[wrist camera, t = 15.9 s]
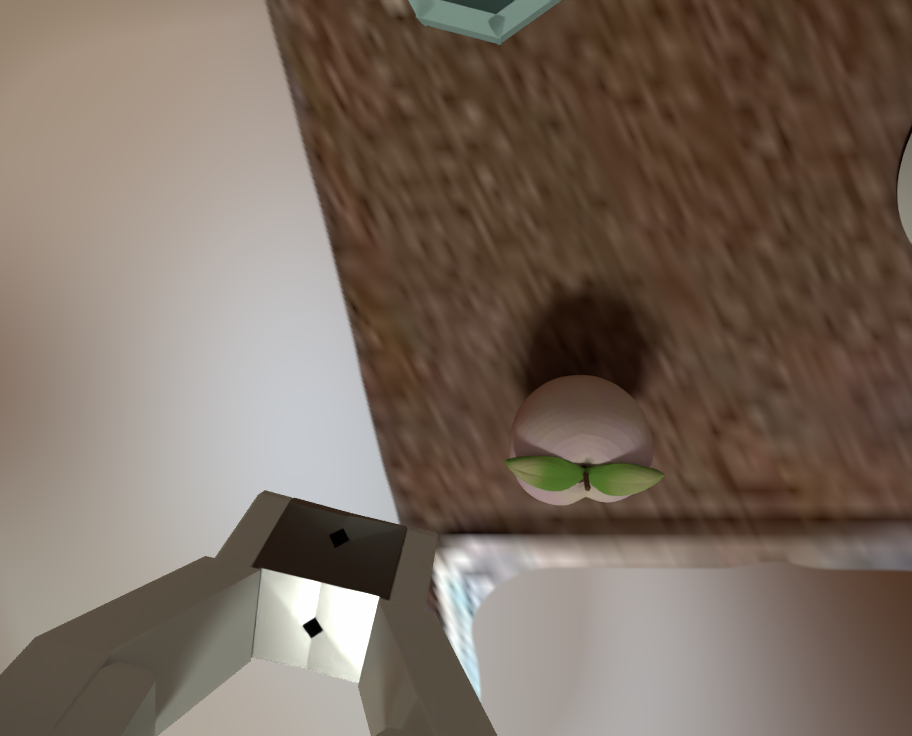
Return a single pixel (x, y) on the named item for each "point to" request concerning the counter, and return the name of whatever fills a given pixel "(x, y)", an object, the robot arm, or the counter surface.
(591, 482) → the decorative fruit
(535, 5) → the studded octagonal holder
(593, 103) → the counter surface
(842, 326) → the counter surface
